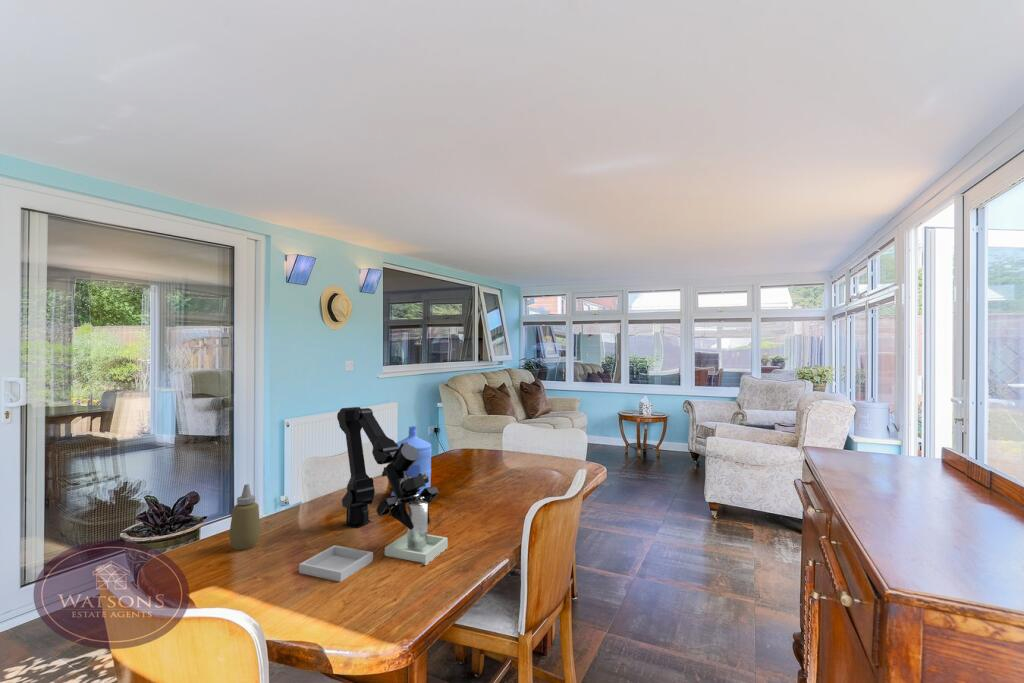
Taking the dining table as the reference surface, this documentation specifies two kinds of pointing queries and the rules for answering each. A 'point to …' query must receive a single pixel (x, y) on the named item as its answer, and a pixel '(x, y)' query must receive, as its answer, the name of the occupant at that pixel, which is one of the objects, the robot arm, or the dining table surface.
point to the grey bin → (336, 563)
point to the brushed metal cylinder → (417, 524)
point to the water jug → (424, 457)
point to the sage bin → (419, 555)
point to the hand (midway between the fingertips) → (420, 526)
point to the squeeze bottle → (245, 521)
